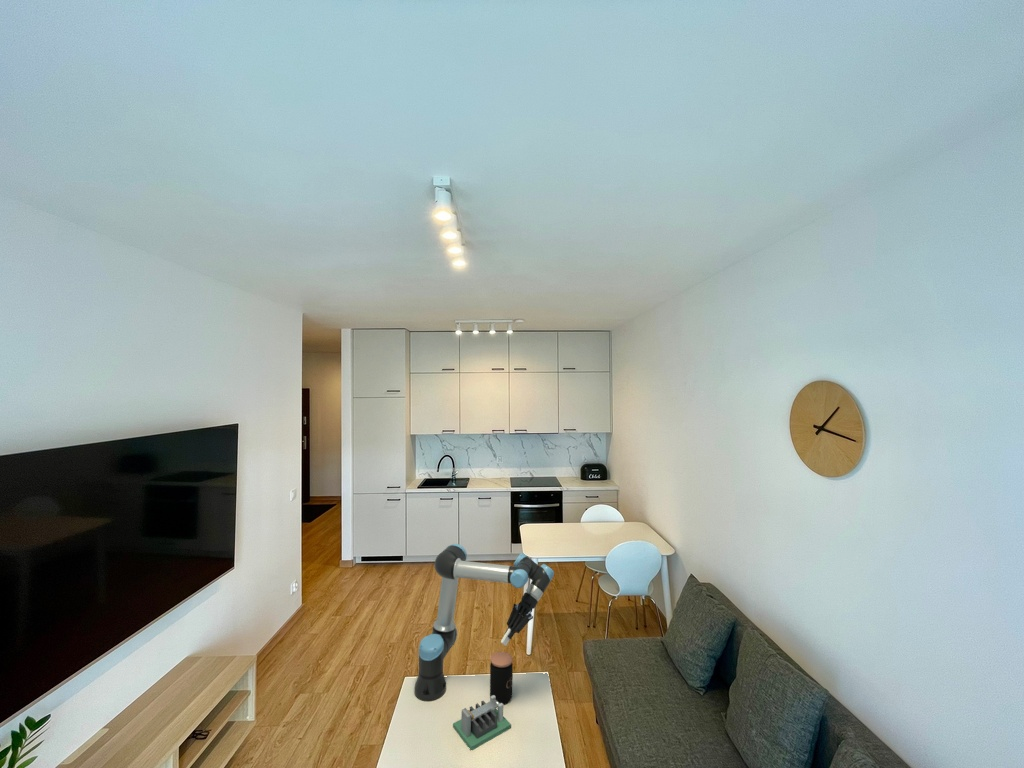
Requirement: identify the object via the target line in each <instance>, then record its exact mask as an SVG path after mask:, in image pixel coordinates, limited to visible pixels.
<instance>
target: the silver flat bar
mask: <svg viewBox="0 0 1024 768" xmlns="http://www.w3.org/2000/svg"><path fill="white" fill-rule="evenodd" d="M485 703H486V704H484V705H482V706H481V705H480V707H479V708H477V709H476V708H474V709H475V710H473V711H471V712H470V709H467V710H468V711H469V712H470V714H471V715H472V717H471V721H474V720H475V719H477V718H479V717H481V716H483V715H485V714H486V713H488V712H490V711H492V710H494V709H495V708H496V709H498V704H500V703H499V702H498V701H497V700H496V699H493V700H492V701H490V700H489V701H488V702H485Z"/></svg>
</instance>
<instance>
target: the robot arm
mask: <svg viewBox="0 0 1024 768" xmlns="http://www.w3.org/2000/svg"><path fill="white" fill-rule="evenodd" d="M467 556H468V553H467V550H466V549H465V548H464V546H463V545H461V544H459V543H452V544H450V545H448V546H447V547H445V548H444V549H443V551H441V552H440V553H438V555H437V556H436V558H435V560H434V569H435V572H436V574H438V575H439V576H440V577H441V584H440V590H439V591H440V592H439V599H438V609H437V615H436V620H435V621H434V622H433V625H432V632H431V634H428V635H425V636H424V637H422V639H421V640H420V642H419V646H418V647H419V648H418V674H417V679H416V681H415V684H414V696H415V697H416V698H417V699H418V700H421V701H424V702H432V701H435V700H438V699H440V698H441V697H443V696H444V694H445V693H446V691H447V681H446V677H445V674H444V659H445V657H446V656H447V654H448V653H449V651H450V650H451V649H452V648H453V646H454V645H455V643H456V642H457V637H458V630H457V628H456V627H457V626H456V622H455V621H454V619H455V611H456V610H455V609H456V602H457V595H458V586H459V579H468V580H469V579H470V580H476V581H477V580H478V581H485V582H493V583H494V582H495V583H501V584H502V583H504V584H511V586H512V587H514V588H515V589H521V588H523V587H524V586H525V585H526V584H527V583H528V580H529V579H530V580H531V582H530V584H529V585H528V587H527V589H525V592H524V593H523V594H522V596H521V601H520V602H519V603H517V604H516V603H513V604H512V605H513V606H512V610H511V613H510V615H509V617H508V619H507V622H506V625H507V628H506V631H505V632H504V636H503V637H502V638H501V641H500V643H501V644H503V645H504V646H505V647H506V646H507V645H508V643H509V641H510V640H512V638H513V636H514V635H515V634H520V632H522V630H523V629H524V628H525V627H526V625H527V624H528V623H529V622H530V621H532V620H533V619H534V615H533V614H532V612H533V609H536V607H537V605H538V603H539V602H538V601H540V599H541V598H542V596H543V594H544V593H545V591H546V590H547V588H548V587H549V585H550V583H551V581H552V580H553V578H554V575H555V571H554V570H553V569H552V568H551V567H550V566H548V565H547V564H545V563H544V564H541V565H539V564H538V563H537V562H535V561H534V560H533V559H532V558H530V557H529V556H528V555H526V554H524V553H523V552H520V554H519V555H518V556H517V558H516V559H515V561H514V562H513V565H506V564H498V563H495V564H494V563H487V562H478V561H477V562H476V561H467V558H468V557H467Z"/></svg>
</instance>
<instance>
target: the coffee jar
mask: <svg viewBox="0 0 1024 768" xmlns="http://www.w3.org/2000/svg"><path fill="white" fill-rule="evenodd" d="M489 667H490V668H489V669H490V670H489V673H490V674H489V698H490V697H491V696H493V695H494V696H495V697H496V700H497V701H498V702H499V703H502V704H503V705H506V704H508V703H510V702H511V700H512V698H513V672H514V671H513V670H514V669H513V667H514V666H513V656H512V655H511V654H510V653H508V652H506V651H498V652H494V653H493V654H492V655H491V656H490V665H489Z"/></svg>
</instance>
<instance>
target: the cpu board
mask: <svg viewBox="0 0 1024 768" xmlns="http://www.w3.org/2000/svg"><path fill="white" fill-rule="evenodd" d="M493 699H496V697H495V696H494V695H493V696H491V697H490V696H489V702H490V701H492V700H493ZM486 703H487V702H485V701H484V700H481V703H480V704H481V705H479V703H478V702H477V703H476V704H475V708H474V707H473V706H472V705H471V706H469V709H467V707H465V708H463V709H461V718H460V719H459V720H457V721H455V722H453V724H452V728H453V729H454V731H455V733H457V734H458V735H459V737H460V739H461V740H462V741H463V742H464V744H465V743H466V744H465V745H466V747H467V748H468V747H469V748H470V749H469V748H468V749H469V750H470V751H471V750H472V751H474V750H475V749H477V748H478V747H480V746H483V745H484V744H487V742H489V741H491V740H492V739H495V738H496V737H497V736H498V737H499V736H500V735H501V734H503V733H505V732H507V731H509V730H510V729H512V724H511V723H510V721H509V720H508V719H507V718H506V717H505V716H504V704H502V703H500V704H498V707H497V708H495V709H494V710H492V711H490V712H488V713H486V714H485V715H483V716H481V717H479V718H477V719H475V720H474V721H471V717H472V715H471V714H470V712H471V711H473V710H475V709H477V708H479V707H480V706H482V705H484V704H486ZM468 710H469V711H470V712H469V711H468Z"/></svg>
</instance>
